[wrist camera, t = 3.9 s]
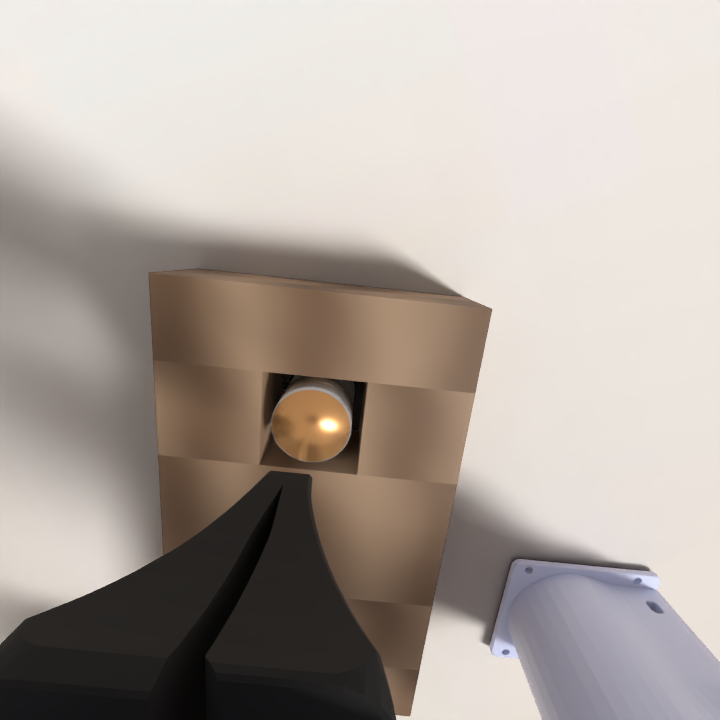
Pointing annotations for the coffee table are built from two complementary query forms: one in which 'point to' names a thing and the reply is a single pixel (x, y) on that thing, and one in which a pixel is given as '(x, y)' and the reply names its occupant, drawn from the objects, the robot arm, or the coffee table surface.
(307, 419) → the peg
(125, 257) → the coffee table surface
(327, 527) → the socket block
